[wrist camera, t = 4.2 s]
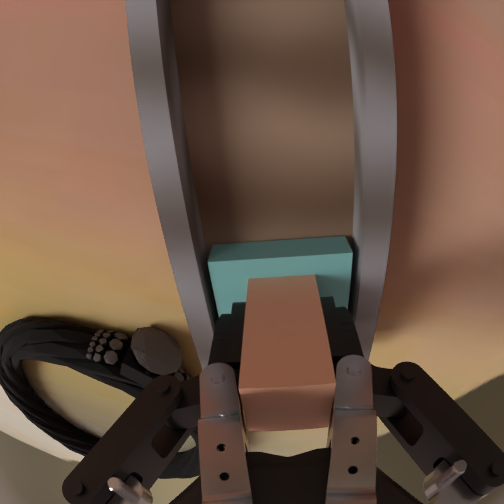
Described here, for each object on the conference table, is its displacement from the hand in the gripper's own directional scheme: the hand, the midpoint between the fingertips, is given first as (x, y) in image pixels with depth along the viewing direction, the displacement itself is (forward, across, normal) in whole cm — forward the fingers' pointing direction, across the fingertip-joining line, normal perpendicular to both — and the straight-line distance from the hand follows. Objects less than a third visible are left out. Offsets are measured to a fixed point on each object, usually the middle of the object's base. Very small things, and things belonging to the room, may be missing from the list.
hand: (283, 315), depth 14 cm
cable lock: (+5, +18, +16) cm, 25 cm away
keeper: (+3, 0, 0) cm, 3 cm away
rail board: (+4, 0, -5) cm, 6 cm away
